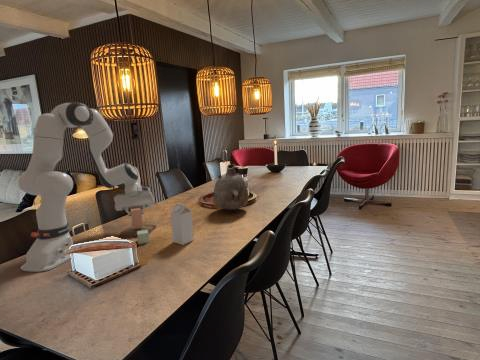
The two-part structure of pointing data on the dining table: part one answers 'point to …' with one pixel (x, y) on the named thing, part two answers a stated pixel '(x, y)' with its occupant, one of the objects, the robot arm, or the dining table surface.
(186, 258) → the dining table surface
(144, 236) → the sage block
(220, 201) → the jug
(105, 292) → the dining table surface
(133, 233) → the walnut board
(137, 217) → the terracotta block
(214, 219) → the dining table surface
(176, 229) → the milk carton
